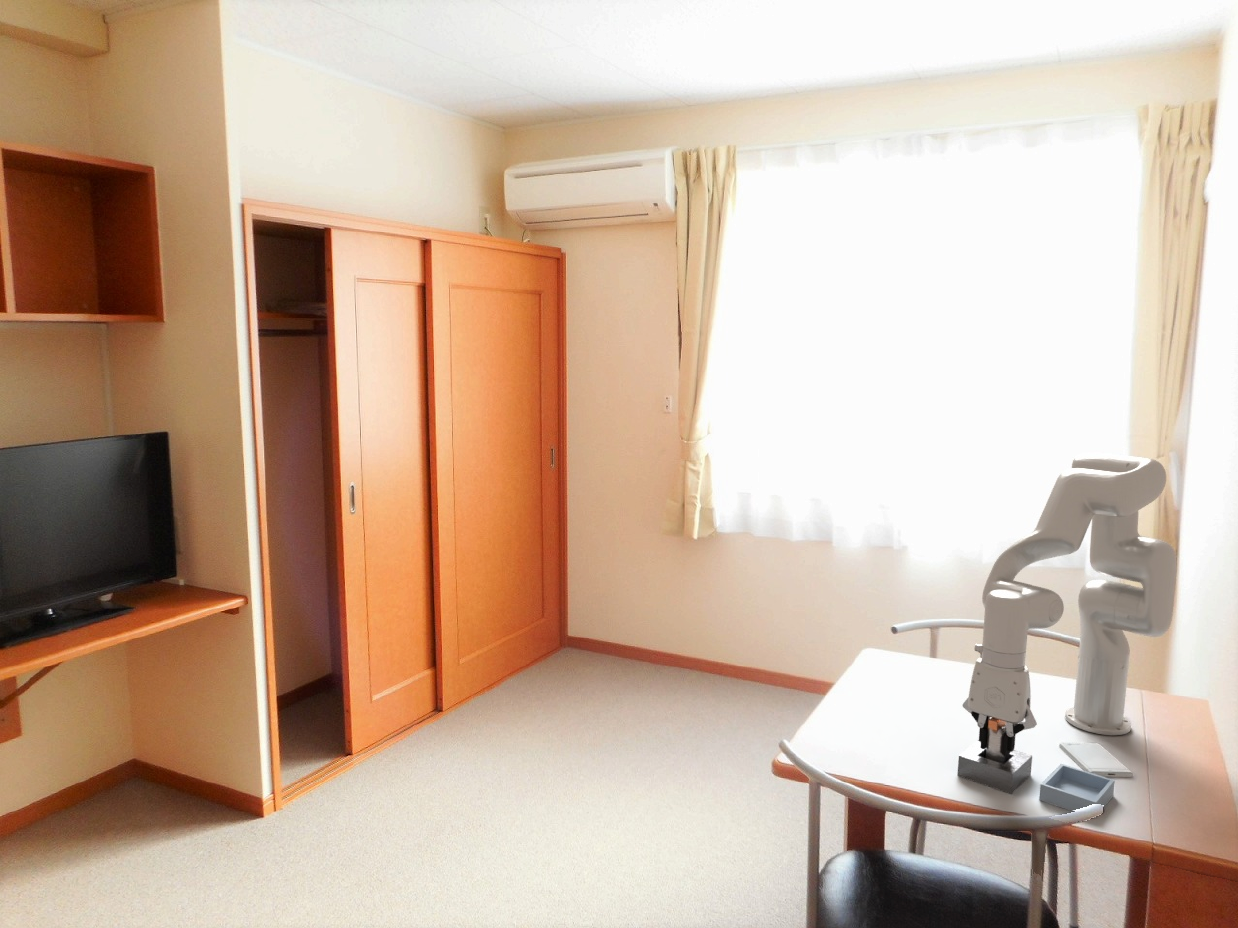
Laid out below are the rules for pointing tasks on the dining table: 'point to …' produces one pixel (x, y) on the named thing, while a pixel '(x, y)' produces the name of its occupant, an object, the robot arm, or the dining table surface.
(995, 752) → the pin
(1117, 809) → the dining table surface
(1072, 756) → the hard drive
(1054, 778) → the tray
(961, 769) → the block
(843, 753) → the dining table surface
